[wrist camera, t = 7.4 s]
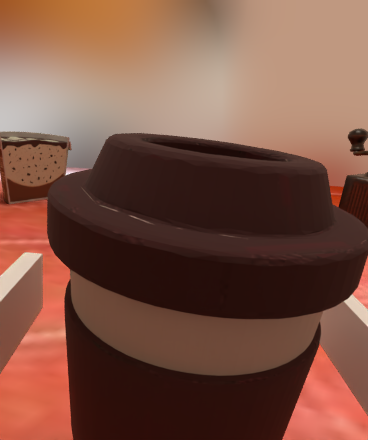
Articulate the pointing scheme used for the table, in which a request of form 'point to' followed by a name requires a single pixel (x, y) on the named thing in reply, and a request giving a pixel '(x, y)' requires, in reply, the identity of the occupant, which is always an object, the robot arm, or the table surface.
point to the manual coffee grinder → (356, 182)
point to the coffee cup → (196, 286)
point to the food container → (31, 164)
